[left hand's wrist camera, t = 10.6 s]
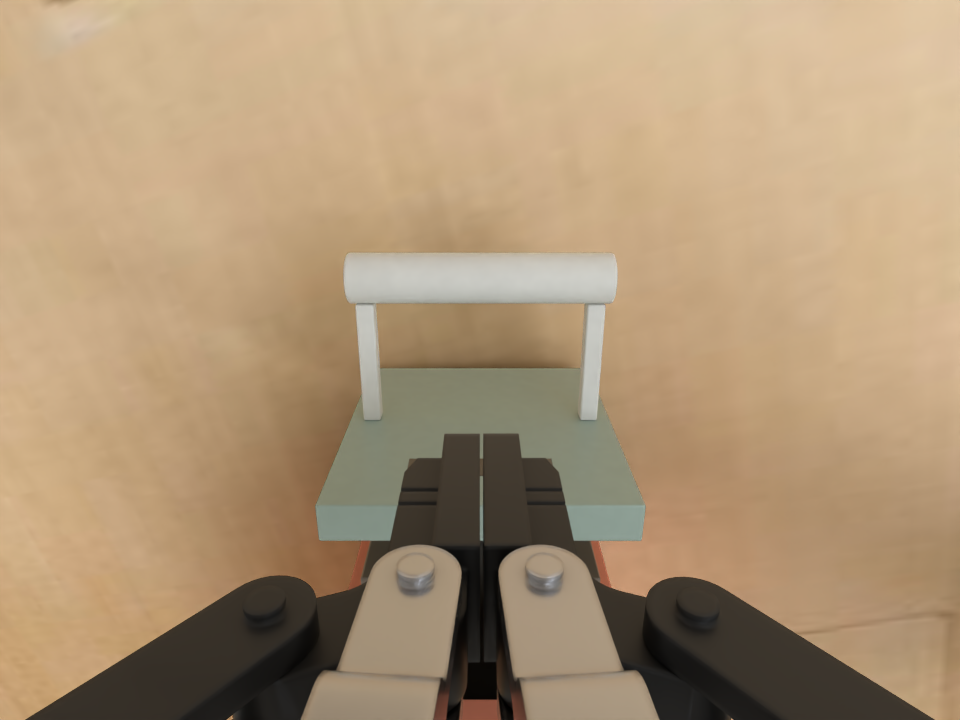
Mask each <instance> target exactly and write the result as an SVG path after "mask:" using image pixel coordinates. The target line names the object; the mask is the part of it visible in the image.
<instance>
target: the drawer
mask: <svg viewBox="0 0 960 720" xmlns="http://www.w3.org/2000/svg"><path fill="white" fill-rule="evenodd" d="M617 276H618V274H617V262H616V258H615V255H614V254H613V253H348V254H347V255H346V257H345V261H344V270H343V280H344V290H345V295H346V298H347V301H348V302H349V303H357V304H356V306H355V310H356V323H357V336H358V349H359V363H360V376H361V389H362V394H361V397H360V399H359V402H358V404H357V406H356V409H355V411H354V414H353V416H352V419H351V421H350V423H349V426H348V428H347V431H346V433H345V435H344V438H343V440H342V443H341V445H340V447H339V450H338V452H337V455H336V457H335V460H334V462H333V464H332V467H331V469H330V472H329V474H328V476H327V479H326V481H325V484H324V486H323V488H322V491H321V493H320V496H319V498H318V500H317V503H316V505H315V509H316V517H317V526H318V535H319V540H320V541H370V543H369V547H368V551H367V555H366V559H365V563H364V567H363V571H362V575H361V584H363V583H365V582H366V581H368V578H369V575H370V572H371V570H372V568H373V566H374V565H375V563H376V562H377V561H378V560H379V559H380V558H381V557H383V556H384V555H385V554H387V553H388V548H389V543H390V539H391V534H392V529H393V524H394V519H395V515H396V510H397V505H398V500H399V495H400V492H401V486H402V481H403V476H404V472H405V471H406V470H407V469H408V468H409V467H410V466H411V465H412V464H413V462H414V461H415V460H416V459H417V458H442V450H443V441H444V434H480V662H468V668H467V687H466V691H465V694H464V696H463V700H497V665H496V662H484V597H483V433H518V434H519V439H520V448H521V456H522V458H546V459H547V460H548V461H549V462H550V463H551V464H552V465H553V466H554V467H555V468H556V469H557V470H558V472H559V475H560V479H561V484H562V491H563V493H564V498H565V505H566V507H567V512H568V516H569V521H570V525H571V530H572V535H573V539H574V544H575V548H576V553H577V557H579V558H580V559H581V560H582V561H583V562H584V563H585V565H586V566H587V568H588V570H589V572H590V575H591V577H592V578H594V579H595V580H597V581H598V582H600V575H599V571H598V567H597V563H596V559H595V556H594V552H593V548H592V544H591V541H641V540H642V534H643V525H644V517H645V508H646V506H645V503H644V501H643V498H642V496H641V494H640V491H639V489H638V487H637V484H636V482H635V479H634V477H633V475H632V472H631V470H630V467H629V465H628V463H627V460H626V458H625V455H624V453H623V451H622V448H621V446H620V444H619V441H618V439H617V436H616V434H615V432H614V429H613V427H612V424H611V422H610V420H609V417H608V415H607V413H606V410H605V408H604V405H603V403H602V401H601V398H600V396H599V384H600V371H601V359H602V346H603V333H604V320H605V304H604V303H612V302H613V301H614V298H615V295H616V290H617ZM376 303H585V308H584V323H583V339H582V354H581V368H380V359H379V343H378V327H377V312H376Z"/></svg>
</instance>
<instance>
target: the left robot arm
mask: <svg viewBox="0 0 960 720" xmlns="http://www.w3.org/2000/svg"><path fill="white" fill-rule="evenodd" d="M483 597H484V662H496V665H497V715H498V720H731V718H732V719H733V720H934V719H933V718H931V717H929V716H928V715H926V714H925V713H923V712H921V711H920V710H918V709H917V708H915V707H913V706H912V705H910V704H908V703H907V702H905V701H904V700H902V699H900V698H899V697H897V696H896V695H894V694H892V693H891V692H889V691H888V690H886V689H884V688H883V687H881V686H879V685H878V684H876V683H875V682H873V681H871V680H870V679H868V678H867V677H865V676H863V675H862V674H860V673H859V672H857V671H855V670H854V669H852V668H850V667H849V666H847V665H846V664H844V663H842V662H841V661H839V660H838V659H836V658H834V657H833V656H831V655H830V654H828V653H826V652H825V651H823V650H821V649H820V648H818V647H817V646H815V645H813V644H812V643H810V642H809V641H807V640H805V639H804V638H802V637H801V636H799V635H797V634H796V633H794V632H792V631H791V630H789V629H788V628H786V627H784V626H783V625H781V624H780V623H778V622H776V621H775V620H773V619H772V618H770V617H768V616H767V615H765V614H763V613H762V612H760V611H759V610H757V609H755V608H754V607H752V606H751V605H749V604H747V603H746V602H744V601H743V600H741V599H739V598H738V597H736V596H734V595H733V594H731V593H730V592H728V591H726V590H725V589H723V588H721V587H719V586H718V585H715V584H713V583H711V582H708V581H705V580H701V579H697V578H691V577H674V578H668V579H665V580H662V581H660V582H659V583H657V584H655V585H654V586H653V587H652V588H651V589H650V591H649V592H648V595H647V598H646V597H642V596H638V595H634V594H630V593H626V592H622V591H618V590H615V589H612V588H610V587H608V586H605V585H604V584H602V583H600V582H598V581H597V580H595V579H594V578H592V577H591V575H590V572H589V570H588V568H587V566H586V565H585V563H584V562H583V561H582V560H581V559H580V558H579V557H577V553H576V548H575V544H574V539H573V535H572V530H571V525H570V521H569V516H568V512H567V507H566V505H565V498H564V493H563V491H562V484H561V479H560V475H559V472H558V470H557V469H556V468H555V467H554V466H553V465H552V464H551V463H550V462H549V461H548V460H547V459H546V458H522V456H521V448H520V439H519V434H518V433H483ZM468 662H480V434H444V441H443V450H442V458H417V459H416V460H415V461H414V462H413V464H412V465H411V466H410V467H409V468H408V469H407V470H406V471H405V472H404V476H403V481H402V486H401V492H400V495H399V500H398V505H397V510H396V515H395V519H394V524H393V529H392V534H391V539H390V543H389V548H388V553H387V554H385V555H384V556H383V557H381V558H380V559H379V560H378V561H377V562H376V563H375V565H374V566H373V568H372V570H371V572H370V575H369V578H368V581H366V582H365V583H363V584H361V585H359V586H357V587H355V588H352V589H350V590H347V591H343V592H340V593H335V594H331V595H327V596H323V597H319V598H316V596H315V593H314V591H313V589H312V588H311V586H310V585H308V584H307V583H306V582H304V581H303V580H301V579H298V578H295V577H290V576H269V577H264V578H260V579H256V580H253V581H251V582H248V583H246V584H244V585H242V586H240V587H239V588H237V589H235V590H234V591H232V592H230V593H229V594H227V595H226V596H224V597H222V598H221V599H219V600H217V601H216V602H214V603H213V604H211V605H209V606H208V607H206V608H205V609H203V610H201V611H200V612H198V613H197V614H195V615H193V616H192V617H190V618H188V619H187V620H185V621H184V622H182V623H180V624H179V625H177V626H176V627H174V628H172V629H171V630H169V631H168V632H166V633H164V634H163V635H161V636H159V637H158V638H156V639H155V640H153V641H151V642H150V643H148V644H147V645H145V646H143V647H142V648H140V649H139V650H137V651H135V652H134V653H132V654H130V655H129V656H127V657H126V658H124V659H122V660H121V661H119V662H118V663H116V664H114V665H113V666H111V667H110V668H108V669H106V670H105V671H103V672H101V673H100V674H98V675H97V676H95V677H93V678H92V679H90V680H89V681H87V682H85V683H84V684H82V685H81V686H79V687H77V688H76V689H74V690H72V691H71V692H69V693H68V694H66V695H64V696H63V697H61V698H60V699H58V700H56V701H55V702H53V703H52V704H50V705H48V706H47V707H45V708H44V709H42V710H40V711H39V712H37V713H35V714H34V715H32V716H31V717H29V718H27V719H26V720H227V719H228V718H229V717H230V716H232V715H233V719H232V720H462V715H463V696H464V694H465V691H466V687H467V668H468Z"/></svg>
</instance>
